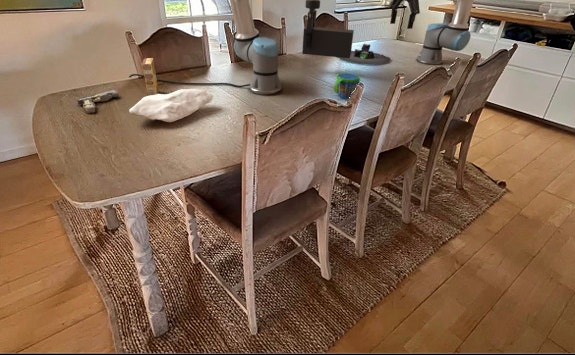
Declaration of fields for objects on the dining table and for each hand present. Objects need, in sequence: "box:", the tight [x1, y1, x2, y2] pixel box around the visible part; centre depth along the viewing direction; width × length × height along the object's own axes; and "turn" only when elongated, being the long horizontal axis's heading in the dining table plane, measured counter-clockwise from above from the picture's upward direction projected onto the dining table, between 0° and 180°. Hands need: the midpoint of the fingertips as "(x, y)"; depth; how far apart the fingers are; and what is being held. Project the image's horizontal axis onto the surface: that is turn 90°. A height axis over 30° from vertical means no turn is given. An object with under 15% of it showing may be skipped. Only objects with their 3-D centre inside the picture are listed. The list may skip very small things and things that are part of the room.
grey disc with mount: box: [337, 43, 391, 65], centre depth 234 cm, size 35×35×9 cm
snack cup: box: [333, 72, 361, 100], centre depth 170 cm, size 16×10×10 cm
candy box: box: [141, 57, 160, 96], centre depth 163 cm, size 9×4×15 cm, turn 13°
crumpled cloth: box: [129, 88, 214, 123], centre depth 147 cm, size 24×35×9 cm
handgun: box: [76, 89, 120, 114], centre depth 155 cm, size 3×18×15 cm
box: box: [301, 25, 355, 58], centre depth 195 cm, size 26×8×13 cm, turn 77°
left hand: (309, 45), depth 198 cm, fingers closed on box, 8 cm apart
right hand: (400, 26), depth 188 cm, fingers open, 13 cm apart
